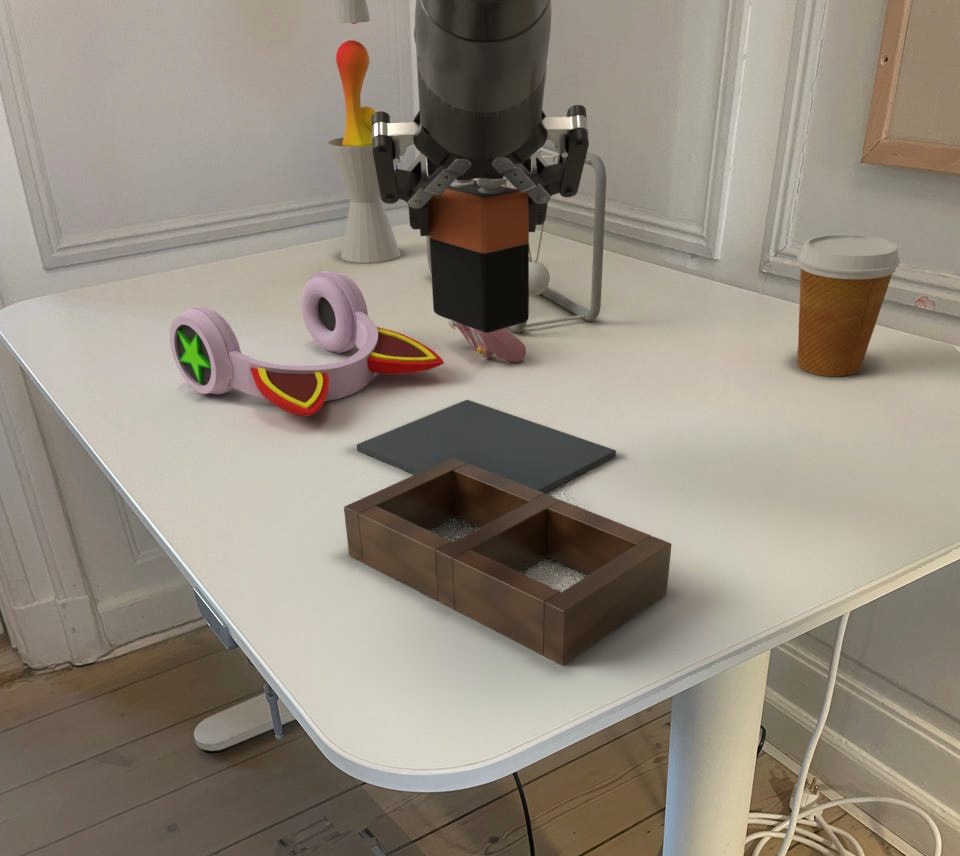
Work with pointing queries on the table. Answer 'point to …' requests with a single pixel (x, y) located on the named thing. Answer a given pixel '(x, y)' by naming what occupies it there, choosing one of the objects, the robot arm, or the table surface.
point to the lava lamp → (359, 152)
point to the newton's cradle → (541, 275)
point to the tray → (509, 556)
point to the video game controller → (493, 342)
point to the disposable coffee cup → (841, 299)
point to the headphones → (298, 389)
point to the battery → (480, 254)
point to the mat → (488, 446)
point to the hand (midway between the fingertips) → (477, 223)
